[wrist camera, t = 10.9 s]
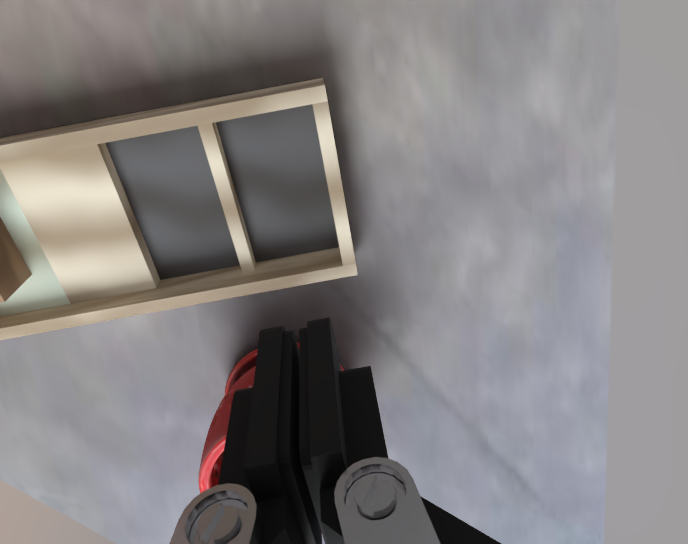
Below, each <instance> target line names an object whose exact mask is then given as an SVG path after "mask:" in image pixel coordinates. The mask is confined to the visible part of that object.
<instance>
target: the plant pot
mask: <svg viewBox="0 0 688 544" xmlns="http://www.w3.org/2000/svg"><path fill="white" fill-rule="evenodd" d="M297 345H298V348H299V342H297ZM257 351H258V349H256V350H254V351H252V352H250V353H249V354H247V355H246V356H245V357H243V358H242V359H241V360H240V361H239V362H238V363H237V364H236V366H235V367H234V368H233V370H232V372H231V373H230V375H229V378H228V380H227V383H226V387H225V396H224V398H223V400H222V401H221V403H220V405H219V407H218V409H217V411H216V413H215V415H214V418H213V420H212V423H211V425H210V428H209V431H208V435H207V438H206V442H205V445H204V449H203V454H202V459H201V464H200V471H199V489H200V493H202V492H203V491H205V490H207V489H209V488H212V487H214V486H216V485H218V482H219V476H220V470H221V464H222V459H223V453H224V447H225V441H226V435H227V429H228V423H229V418H230V412H231V406H232V400H233V396H234V392H235V391H236V390H240V389H245V388H251V387H253V384H254V376H255V368H256V359H257ZM340 365H341V364H340ZM341 370H342V371H345V370H344V368H343V367H342V365H341Z"/></svg>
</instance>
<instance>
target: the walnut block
mask: <svg viewBox="0 0 688 544" xmlns="http://www.w3.org/2000/svg"><path fill="white" fill-rule="evenodd" d="M31 275H32V273H31V271H30V270H29V268H28V266H27V264H26V262H25V261H24V259H23V257H22V255H21V253H20V252H19V250H18V248H17V246H16V244H15V242H14V241H13V239H12V237H11V235H10V233H9V232H8V230H7V228H6V226H5V224H4V223H3V221H2V219H1V217H0V303H3V302H6V300H7V299H8V298H9V297H10V296H11V295H12V294H13V293H14V292H15V291H16V290H17V289H18V288H19V287H20V286H21V285H22V284H23V283H24V282H25V281H26V280H27V279H28V278H29V277H30V276H31Z"/></svg>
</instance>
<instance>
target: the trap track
mask: <svg viewBox="0 0 688 544" xmlns="http://www.w3.org/2000/svg"><path fill="white" fill-rule="evenodd" d="M0 217H1V219H2V221H3V223H4V224H5V226H6V228H7V230H8V232H9V233H10V235H11V237H12V239H13V241H14V242H15V244H16V246H17V248H18V250H19V252H20V253H21V255H22V257H23V259H24V261H25V262H26V264H27V266H28V268H29V270H30V271H31V273H32V275H31V276H30V277H29V278H28V279H27V280H26V281H25V282H24V283H23V284H22V285H21V286H20V287H19V288H18V289H17V290H16V291H15V292H14V293H13V294H12V295H11V296H10V297H9V298H8V299H7V300H6V302H3V303H0V340H4V339H9V338H15V337H20V336H25V335H31V334H36V333H42V332H47V331H53V330H58V329H64V328H69V327H75V326H80V325H86V324H91V323H97V322H102V321H108V320H113V319H119V318H124V317H130V316H135V315H141V314H146V313H152V312H157V311H163V310H168V309H174V308H179V307H185V306H190V305H195V304H201V303H206V302H212V301H217V300H223V299H228V298H234V297H239V296H245V295H250V294H256V293H261V292H267V291H272V290H278V289H283V288H289V287H294V286H300V285H305V284H311V283H316V282H322V281H327V280H333V279H338V278H344V277H349V276H355V275H358V273H357V267H356V262H355V256H354V250H353V244H352V239H351V233H350V227H349V221H348V215H347V210H346V204H345V198H344V192H343V187H342V181H341V175H340V169H339V164H338V158H337V152H336V146H335V140H334V135H333V129H332V123H331V117H330V112H329V106H328V100H327V94H326V89H325V84H324V80H323V78H318V79H313V80H308V81H302V82H297V83H292V84H286V85H281V86H275V87H270V88H265V89H259V90H254V91H249V92H243V93H238V94H233V95H227V96H222V97H217V98H211V99H206V100H201V101H195V102H190V103H184V104H179V105H174V106H168V107H163V108H158V109H152V110H147V111H142V112H136V113H131V114H126V115H120V116H115V117H110V118H104V119H99V120H94V121H88V122H83V123H77V124H72V125H67V126H61V127H56V128H51V129H45V130H40V131H35V132H29V133H24V134H19V135H13V136H8V137H3V138H0Z"/></svg>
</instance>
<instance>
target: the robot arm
mask: <svg viewBox="0 0 688 544" xmlns="http://www.w3.org/2000/svg"><path fill="white" fill-rule="evenodd" d="M322 535H323V538H324V541H325V544H501V543H499V542H497V541H496V540H494V539H492V538H491V537H489V536H487V535H485V534H484V533H482V532H480V531H479V530H477V529H475V528H474V527H472V526H470V525H468V524H467V523H465V522H463V521H462V520H460V519H458V518H456V517H455V516H453V515H451V514H450V513H448V512H446V511H445V510H443V509H441V508H439V507H438V506H436V505H434V504H433V503H431V502H429V501H427V500H426V499H424V498H422V497H421V496H420V495H419V492H418V490H417V487H416V485H415V483H414V480H413V478H412V477H411V475H410V474H409V472H408V470H407V469H406V468H405V467H403V466H402V465H401V464H399V463H398V462H396V461H393V460H391V459H388V454H387V449H386V444H385V439H384V434H383V429H382V423H381V418H380V413H379V408H378V403H377V398H376V392H375V387H374V382H373V377H372V372H371V367H370V366H367V367H362V368H356V369H351V370H345V371H342V370H341V365H340V361H339V356H338V351H337V347H336V342H335V338H334V333H333V328H332V324H331V320H330V318H324V319H319V320H313V321H308V322H307V328H303V329H300V331H299V348H298V345H297V341H296V337H295V334H294V331H293V330H292V331H286V330H285V328H284V326H280V327H275V328H269V329H264V330H261V331H260V335H259V343H258V351H257V359H256V368H255V376H254V384H253V387H251V388H245V389H240V390H236V391H235V392H234V396H233V400H232V406H231V412H230V418H229V423H228V429H227V435H226V441H225V447H224V453H223V459H222V464H221V470H220V476H219V482H218V485H216V486H214V487H212V488H209V489H207V490H205V491H203V492H202V493H201V494H199V495H198V496H197V497H195V498H194V499H193V500H192V501H191V502H190V503H189V505H188V506H187V507H186V508H185V509H184V511H183V513H182V515H181V517H180V519H179V521H178V523H177V526H176V528H175V531H174V534H173V536H172V539H171V541H170V544H322Z"/></svg>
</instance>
